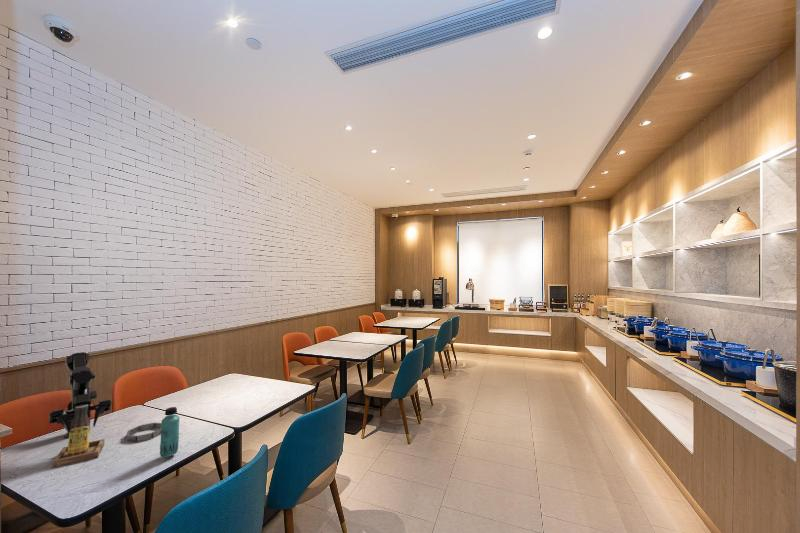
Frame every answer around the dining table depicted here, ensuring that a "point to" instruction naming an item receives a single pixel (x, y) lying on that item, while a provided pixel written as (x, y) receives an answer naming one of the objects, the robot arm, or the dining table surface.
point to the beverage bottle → (169, 433)
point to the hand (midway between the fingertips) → (81, 429)
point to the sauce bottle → (79, 432)
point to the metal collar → (134, 438)
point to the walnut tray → (92, 453)
